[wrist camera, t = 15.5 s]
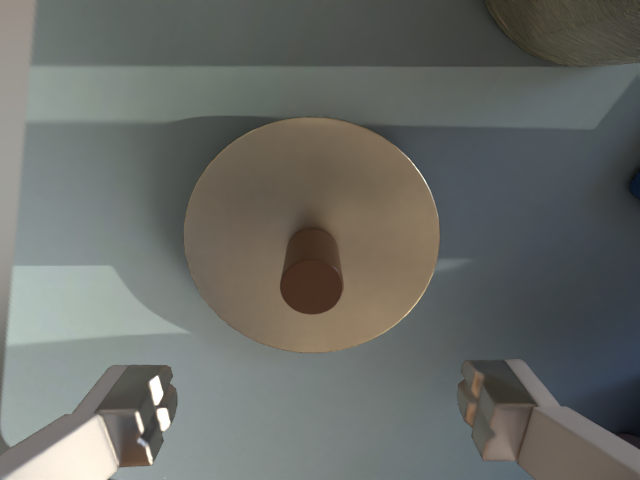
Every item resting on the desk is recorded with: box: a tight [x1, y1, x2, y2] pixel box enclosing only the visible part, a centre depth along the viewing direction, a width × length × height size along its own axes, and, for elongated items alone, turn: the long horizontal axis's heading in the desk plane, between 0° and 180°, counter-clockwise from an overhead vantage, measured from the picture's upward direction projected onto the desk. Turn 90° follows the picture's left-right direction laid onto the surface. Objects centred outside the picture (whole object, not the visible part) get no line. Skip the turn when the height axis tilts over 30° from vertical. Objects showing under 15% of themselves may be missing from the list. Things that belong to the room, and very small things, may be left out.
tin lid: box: [184, 116, 440, 353], centre depth 16 cm, size 13×13×5 cm
